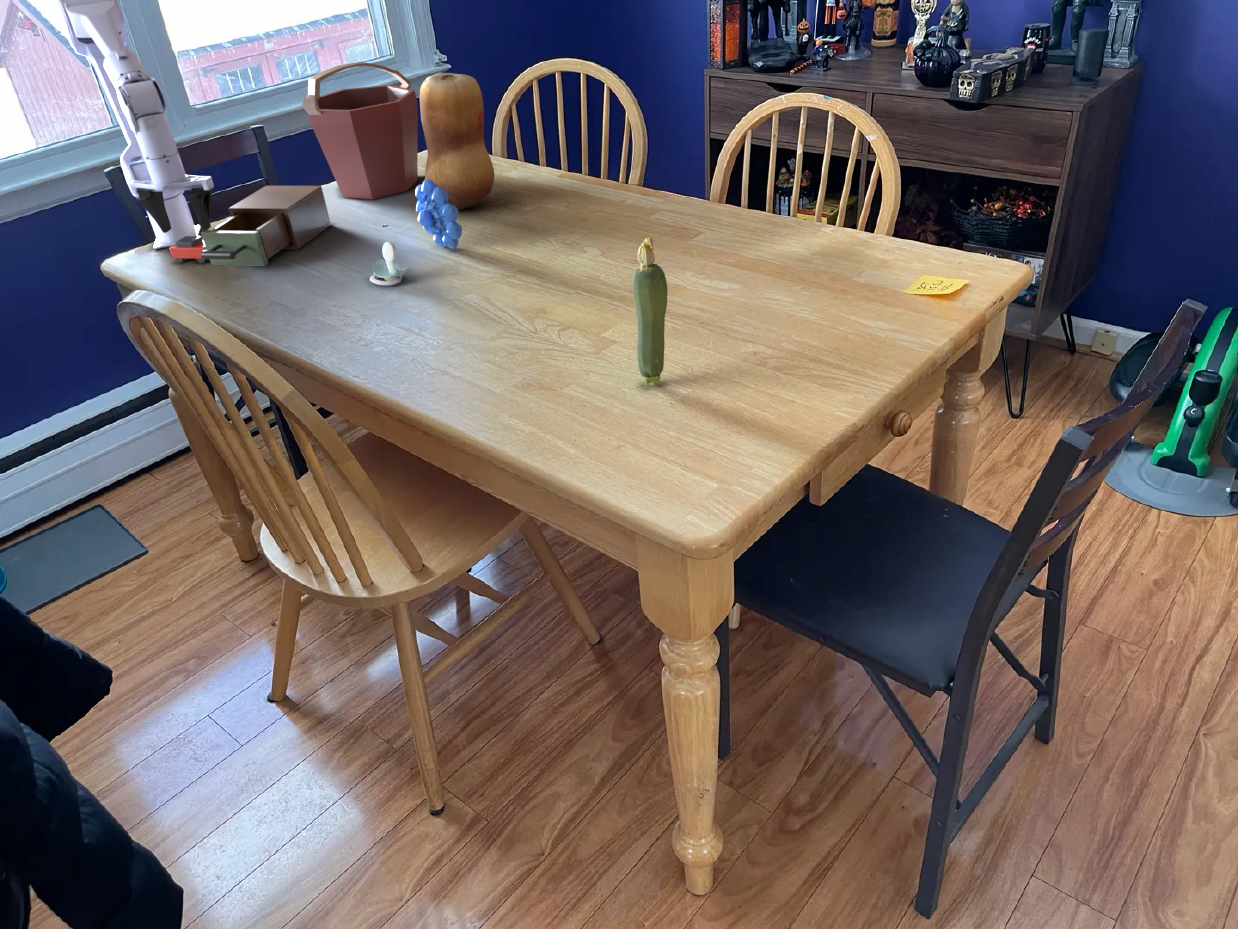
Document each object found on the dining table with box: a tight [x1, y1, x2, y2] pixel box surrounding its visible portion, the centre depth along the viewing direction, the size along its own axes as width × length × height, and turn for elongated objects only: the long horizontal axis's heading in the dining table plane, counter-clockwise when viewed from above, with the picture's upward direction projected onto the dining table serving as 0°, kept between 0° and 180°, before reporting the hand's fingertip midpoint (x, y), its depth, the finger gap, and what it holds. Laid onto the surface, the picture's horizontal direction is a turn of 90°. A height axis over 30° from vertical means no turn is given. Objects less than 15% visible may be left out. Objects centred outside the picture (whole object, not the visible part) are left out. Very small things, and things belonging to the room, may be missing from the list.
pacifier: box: [369, 241, 412, 287], centre depth 155 cm, size 7×6×6 cm
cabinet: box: [228, 185, 332, 250], centre depth 177 cm, size 13×12×8 cm
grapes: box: [414, 179, 463, 250], centre depth 164 cm, size 12×7×12 cm, turn 45°
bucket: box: [301, 61, 419, 200], centre depth 195 cm, size 24×22×25 cm
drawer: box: [200, 212, 292, 267], centre depth 166 cm, size 17×11×6 cm, turn 167°
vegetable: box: [631, 236, 669, 387], centre depth 115 cm, size 4×4×20 cm
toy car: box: [168, 235, 208, 264], centre depth 171 cm, size 7×4×4 cm, turn 77°
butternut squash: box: [419, 72, 495, 211], centre depth 179 cm, size 14×13×25 cm
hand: (187, 229), depth 169 cm, fingers open, 7 cm apart
